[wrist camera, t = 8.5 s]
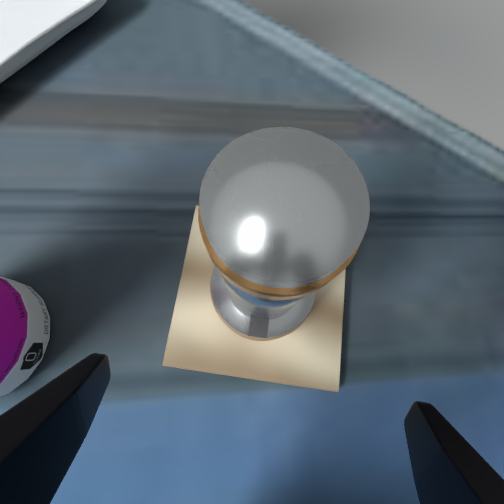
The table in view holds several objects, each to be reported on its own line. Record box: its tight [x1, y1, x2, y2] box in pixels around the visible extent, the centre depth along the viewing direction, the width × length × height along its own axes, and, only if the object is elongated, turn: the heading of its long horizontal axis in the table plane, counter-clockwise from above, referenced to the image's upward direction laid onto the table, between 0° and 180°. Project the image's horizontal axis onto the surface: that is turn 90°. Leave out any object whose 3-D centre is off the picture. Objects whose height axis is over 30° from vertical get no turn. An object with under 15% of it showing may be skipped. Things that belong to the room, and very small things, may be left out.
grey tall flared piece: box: [198, 127, 370, 339], centre depth 15 cm, size 7×6×13 cm
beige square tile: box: [162, 205, 346, 392], centre depth 22 cm, size 12×12×3 cm
